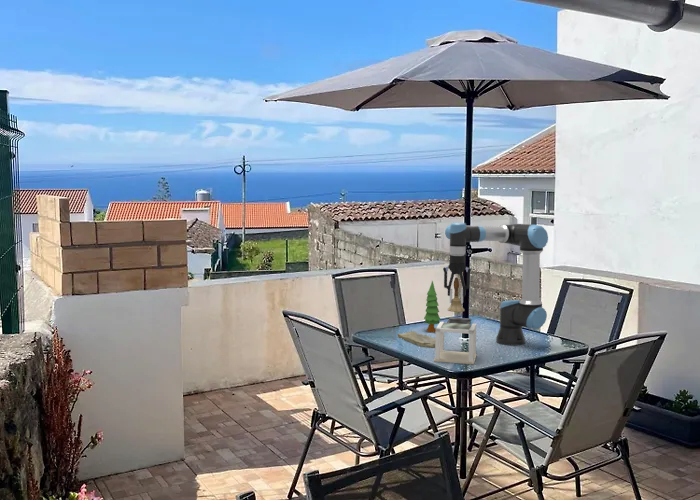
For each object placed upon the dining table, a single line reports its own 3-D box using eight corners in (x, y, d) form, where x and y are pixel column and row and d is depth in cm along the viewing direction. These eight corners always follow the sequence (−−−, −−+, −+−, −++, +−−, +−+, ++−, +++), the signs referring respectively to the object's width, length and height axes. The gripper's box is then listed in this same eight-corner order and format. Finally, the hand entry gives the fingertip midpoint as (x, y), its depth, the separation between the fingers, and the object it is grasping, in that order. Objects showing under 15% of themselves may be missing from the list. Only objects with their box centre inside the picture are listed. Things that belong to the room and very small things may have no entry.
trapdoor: (472, 323, 352) (473, 318, 352) (468, 332, 328) (468, 328, 328) (447, 321, 355) (447, 317, 355) (441, 331, 331) (441, 326, 331)
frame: (476, 354, 344) (477, 323, 343) (473, 364, 326) (474, 331, 324) (438, 352, 349) (439, 321, 347) (433, 361, 331) (434, 328, 329)
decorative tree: (434, 329, 406) (435, 278, 403) (443, 332, 397) (444, 280, 395) (420, 330, 401) (421, 279, 398) (429, 333, 393) (430, 281, 390)
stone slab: (425, 343, 356) (396, 330, 383) (425, 351, 357) (396, 337, 383) (445, 341, 362) (415, 328, 388) (445, 348, 362) (414, 335, 389)
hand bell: (451, 312, 328) (452, 279, 326) (444, 309, 336) (445, 277, 334) (467, 311, 330) (468, 278, 328) (460, 308, 338) (460, 276, 336)
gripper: (476, 254, 332) (475, 302, 334) (440, 253, 336) (439, 300, 338) (475, 256, 324) (474, 305, 327) (438, 255, 329) (437, 303, 331)
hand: (456, 302), depth 332 cm, fingers closed on hand bell, 5 cm apart
